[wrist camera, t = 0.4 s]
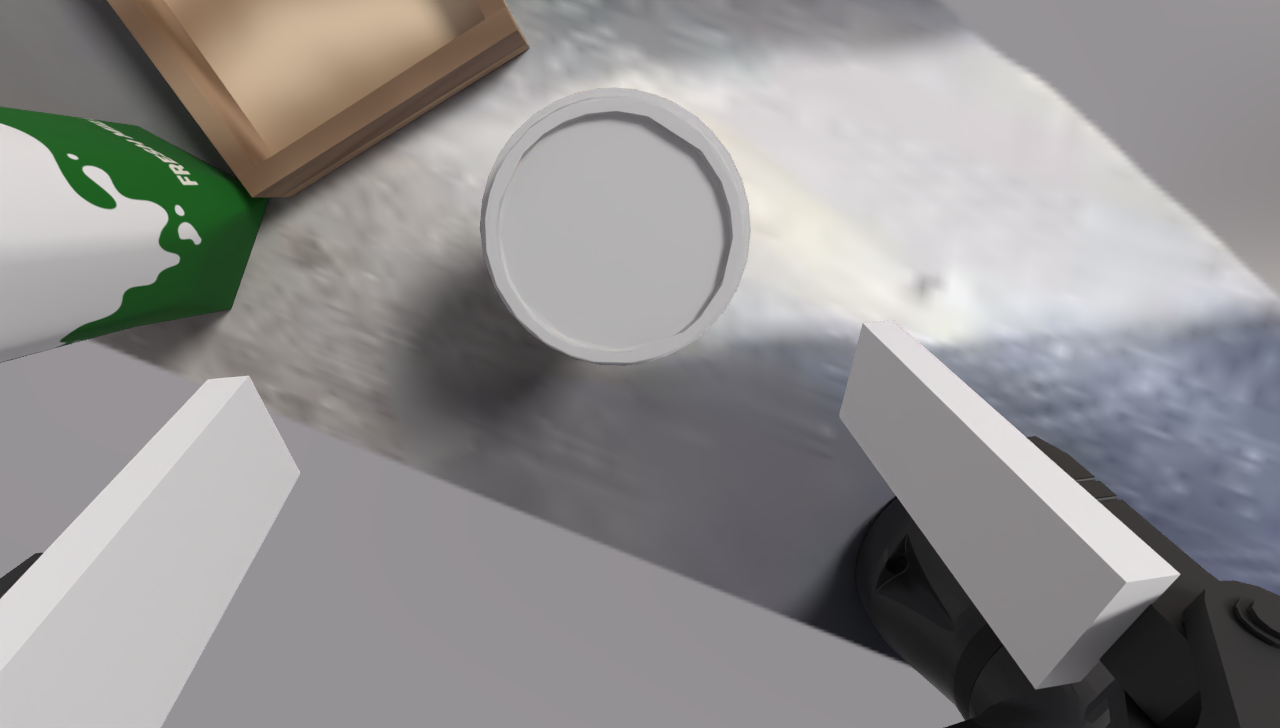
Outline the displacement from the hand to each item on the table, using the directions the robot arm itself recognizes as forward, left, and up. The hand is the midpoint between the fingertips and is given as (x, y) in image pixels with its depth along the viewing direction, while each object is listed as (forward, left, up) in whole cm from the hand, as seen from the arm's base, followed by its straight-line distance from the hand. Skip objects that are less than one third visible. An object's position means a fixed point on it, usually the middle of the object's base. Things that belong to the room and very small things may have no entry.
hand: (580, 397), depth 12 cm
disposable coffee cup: (+2, -2, -19) cm, 19 cm away
